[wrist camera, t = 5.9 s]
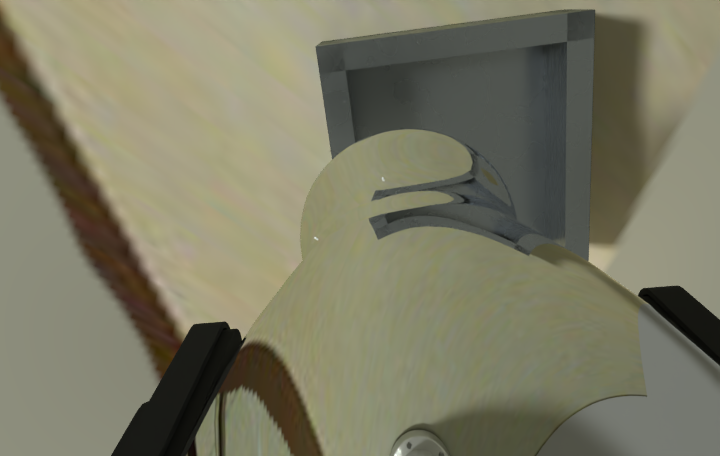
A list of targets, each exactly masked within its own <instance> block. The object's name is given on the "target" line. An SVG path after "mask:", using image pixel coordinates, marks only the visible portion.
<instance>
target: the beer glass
mask: <svg viewBox="0 0 720 456" xmlns="http://www.w3.org/2000/svg"><path fill="white" fill-rule="evenodd" d="M300 243H301V254H302V260H303V261H302V262H301V263H300V264H299V265H298V267H297V268H296V269H295V270H294V272H293V273H292V274H291V275H290V276H289V278H288V279H287V280H286V282H285V283H284V284H283V285H282V287H281V288H280V289H279V291H278V292H277V293H276V295H275V296H274V297H273V298H272V300H271V301H270V302H269V304H268V305H267V306H266V308H265V309H264V310H263V311H262V313H261V314H260V315H259V317H258V318H257V319H256V321H255V322H254V324H253V325H252V327H251V328H250V329H249V331H248V333H247V334H246V336H245V337H244V339H243V340H242V342H241V344H240V345H239V347H238V348H237V350H236V351H235V353H234V354H233V356H232V358H231V359H230V361H229V362H228V364H227V365H226V367H225V369H224V370H223V372H222V373H221V375H220V376H219V378H218V379H217V381H216V383H215V384H214V386H213V388H212V389H211V391H210V393H209V394H208V396H207V398H206V400H205V402H204V404H203V406H202V408H201V410H200V412H199V414H198V416H197V418H196V420H195V422H194V424H193V427H192V429H191V431H190V433H189V435H188V437H187V439H186V441H185V443H184V445H183V448H182V450H181V452H180V454H179V456H720V364H719V363H718V362H717V361H716V360H715V359H714V358H713V357H712V356H711V355H709V354H708V353H707V352H706V351H705V350H704V349H703V348H702V347H701V346H700V345H698V344H697V343H696V342H695V341H694V340H693V339H692V338H691V337H690V336H689V335H687V334H686V333H685V332H684V331H683V330H682V329H681V328H680V327H679V326H677V325H676V324H675V323H674V322H673V321H671V320H670V319H669V318H668V317H666V316H665V315H664V314H662V313H661V312H660V311H658V310H657V309H656V308H654V307H653V306H651V305H650V304H649V303H647V302H646V301H644V300H643V299H641V298H640V297H639V296H637V295H636V294H634V293H633V292H632V291H630V290H629V289H627V288H626V287H624V286H623V285H621V284H620V283H619V282H617V281H616V280H615V279H613V278H612V277H610V276H609V275H608V274H606V273H605V272H603V271H602V270H600V269H599V268H598V267H596V266H595V265H593V264H592V263H590V262H588V261H587V260H585V259H583V258H582V257H580V256H578V255H577V254H575V253H573V252H572V251H570V250H568V249H566V248H565V247H563V246H561V245H560V244H558V243H556V242H555V241H553V240H551V239H549V238H548V237H546V236H544V235H543V234H541V233H539V232H537V231H535V230H534V229H532V228H530V227H528V226H526V225H525V224H523V223H521V222H519V221H518V219H517V214H516V210H515V206H514V203H513V200H512V197H511V194H510V192H509V190H508V187H507V186H506V184H505V182H504V180H503V179H502V177H501V176H500V174H499V173H498V171H497V170H496V168H495V167H494V166H493V165H492V164H491V163H490V161H489V160H488V159H487V158H485V157H484V156H483V155H482V154H481V153H480V152H479V151H477V150H476V149H475V148H473V147H472V146H470V145H468V144H467V143H465V142H463V141H461V140H459V139H457V138H455V137H452V136H450V135H447V134H444V133H441V132H437V131H432V130H426V129H395V130H389V131H384V132H380V133H377V134H374V135H371V136H368V137H366V138H364V139H362V140H359V141H358V142H356V143H354V144H352V145H351V146H349V147H347V148H346V149H345V150H343V151H342V152H340V153H339V154H338V155H337V156H336V157H334V158H333V159H332V160H331V161H330V162H329V163H328V164H327V165H326V166H325V168H324V169H323V170H322V171H321V173H320V174H319V175H318V177H317V178H316V180H315V181H314V183H313V185H312V187H311V189H310V191H309V193H308V195H307V198H306V201H305V204H304V208H303V213H302V219H301V231H300Z"/></svg>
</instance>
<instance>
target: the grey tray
mask: <svg viewBox="0 0 720 456" xmlns="http://www.w3.org/2000/svg"><path fill="white" fill-rule="evenodd" d="M594 32H595V10H558V11H550V12H543V13H535V14H527V15H520V16H512V17H505V18H497V19H490V20H482V21H475V22H467V23H460V24H452V25H445V26H437V27H430V28H422V29H415V30H407V31H400V32H392V33H385V34H377V35H369V36H362V37H354V38H347V39H339V40H332V41H324V42H321V43H320V44H318V45H317V46H316V52H317V59H318V66H319V73H320V79H321V86H322V93H323V100H324V106H325V113H326V120H327V127H328V134H329V140H330V147H331V154H332V159H333V158H334V157H336V156H337V155H338V154H339V153H340V152H342V151H343V150H345V149H346V148H347V147H349V146H351V145H352V144H354V143H356V142H358V141H359V140H362V139H364V138H366V137H368V136H371V135H374V134H377V133H380V132H384V131H389V130H395V129H426V130H432V131H437V132H441V133H444V134H447V135H450V136H452V137H455V138H457V139H459V140H461V141H463V142H465V143H467V144H468V145H470V146H472V147H473V148H475V149H476V150H477V151H479V152H480V153H481V154H482V155H483V156H484V157H485V158H487V159H488V160H489V161H490V163H491V164H492V165H493V166H494V167H495V168H496V170H497V171H498V173H499V174H500V176H501V177H502V179H503V180H504V182H505V184H506V186H507V187H508V190H509V192H510V194H511V197H512V200H513V203H514V206H515V210H516V214H517V219H518V221H519V222H521V223H523V224H525V225H526V226H528V227H530V228H532V229H534V230H535V231H537V232H539V233H541V234H543V235H544V236H546V237H548V238H549V239H551V240H553V241H555V242H556V243H558V244H560V245H561V246H563V247H565V248H566V249H568V250H570V251H572V252H573V253H575V254H577V255H578V256H580V257H582V258H583V259H585V260H587V261H588V258H589V221H590V183H591V145H592V107H593V70H594Z"/></svg>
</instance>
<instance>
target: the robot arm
mask: <svg viewBox="0 0 720 456" xmlns="http://www.w3.org/2000/svg"><path fill="white" fill-rule="evenodd" d="M638 296H639V297H640V298H641V299H643V300H644V301H646V302H647V303H649V304H650V305H651V306H653V307H654V308H656V309H657V310H658V311H660V312H661V313H662V314H664V315H665V316H666V317H668V318H669V319H670V320H671V321H673V322H674V323H675V324H676V325H677V326H679V327H680V328H681V329H682V330H683V331H684V332H685V333H686V334H687V335H689V336H690V337H691V338H692V339H693V340H694V341H695V342H696V343H697V344H698V345H700V346H701V347H702V348H703V349H704V350H705V351H706V352H707V353H708V354H709V355H711V356H712V357H713V358H714V359H715V360H716V361H717V362H718V363H719V364H720V320H719V319H718V318H717V317H716V316H715V315H713V314H712V313H711V312H710V311H709V310H708V309H706V308H705V307H704V306H703V305H702V304H701V303H700V302H698V301H697V300H696V299H695V298H693V296H691V295H690V294H689V293H688V292H687V291H685V290H684V289H683V288H682V287H680V286H666V287H654V288H643V289H642V290H641V291H640V292H639V295H638ZM241 342H242V339H241V334H240V332H239V330H238V329H230V327H229V325H228V323H226V322H215V323H202V324H194V325H193V326H192V327H191V329H190V330H189V332H188V334H187V336H186V337H185V339H184V341H183V343H182V344H181V346H180V348H179V350H178V351H177V353H176V355H175V357H174V358H173V360H172V362H171V364H170V365H169V367H168V369H167V371H166V372H165V374H164V376H163V378H162V380H161V381H160V383H159V385H158V387H157V388H156V390H155V392H154V394H153V395H152V397H151V399H150V401H148V402H146V403H144V404H142V406H141V407H140V408H139V409H138V411H137V413H136V414H135V416H134V417H133V419H132V421H131V423H130V425H129V426H128V428H127V429H126V431H125V433H124V434H123V436H122V438H121V440H120V441H119V443H118V445H117V446H116V448H115V450H114V452H113V453H112V455H111V456H179V454H180V452H181V450H182V448H183V445H184V443H185V441H186V439H187V437H188V435H189V433H190V431H191V429H192V427H193V424H194V422H195V420H196V418H197V416H198V414H199V412H200V410H201V408H202V406H203V404H204V402H205V400H206V398H207V396H208V394H209V393H210V391H211V389H212V388H213V386H214V384H215V383H216V381H217V379H218V378H219V376H220V375H221V373H222V372H223V370H224V369H225V367H226V365H227V364H228V362H229V361H230V359H231V358H232V356H233V354H234V353H235V351H236V350H237V348H238V347H239V345H240V344H241Z"/></svg>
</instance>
